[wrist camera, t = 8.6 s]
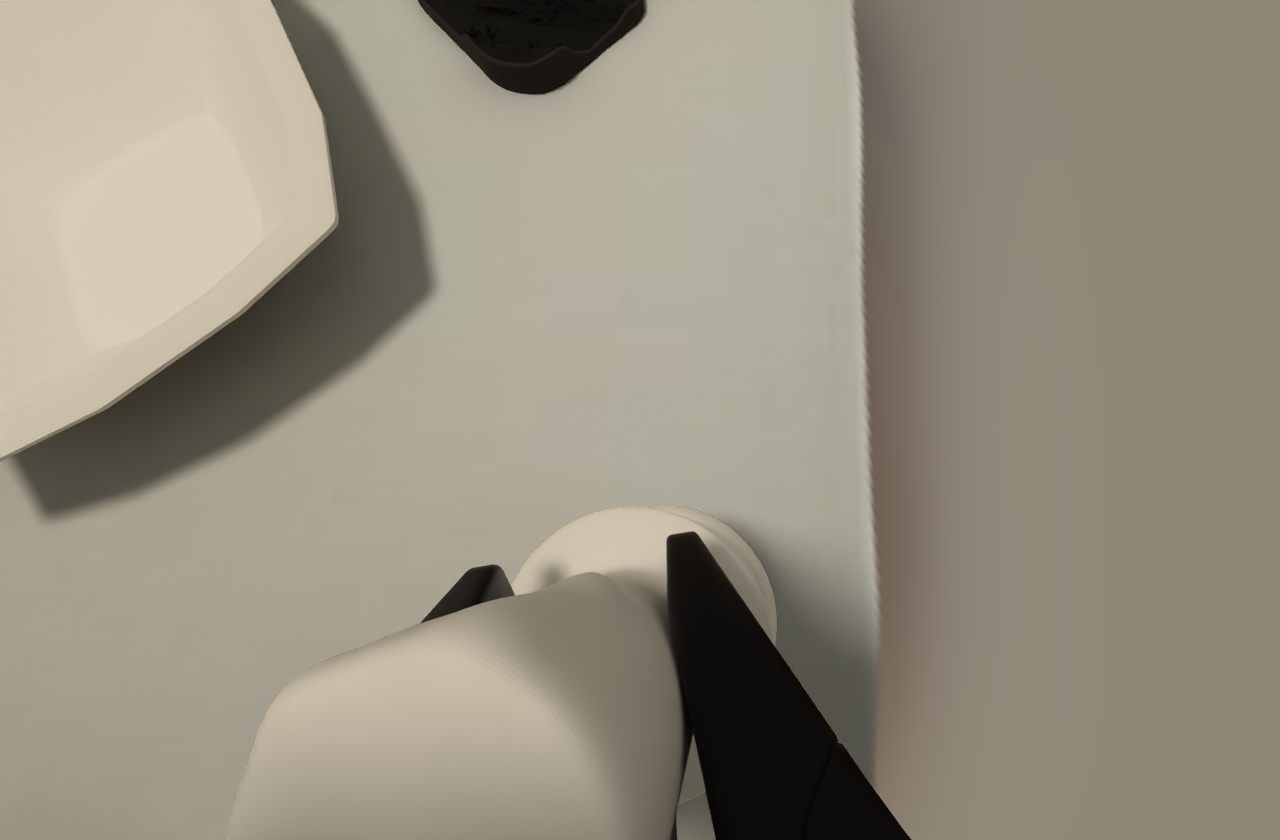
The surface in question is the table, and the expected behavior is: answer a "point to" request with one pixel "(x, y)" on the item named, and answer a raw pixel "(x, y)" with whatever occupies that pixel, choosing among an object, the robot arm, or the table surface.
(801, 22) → the table surface
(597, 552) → the candle
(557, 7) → the black low lumpy piece
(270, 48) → the bowl
